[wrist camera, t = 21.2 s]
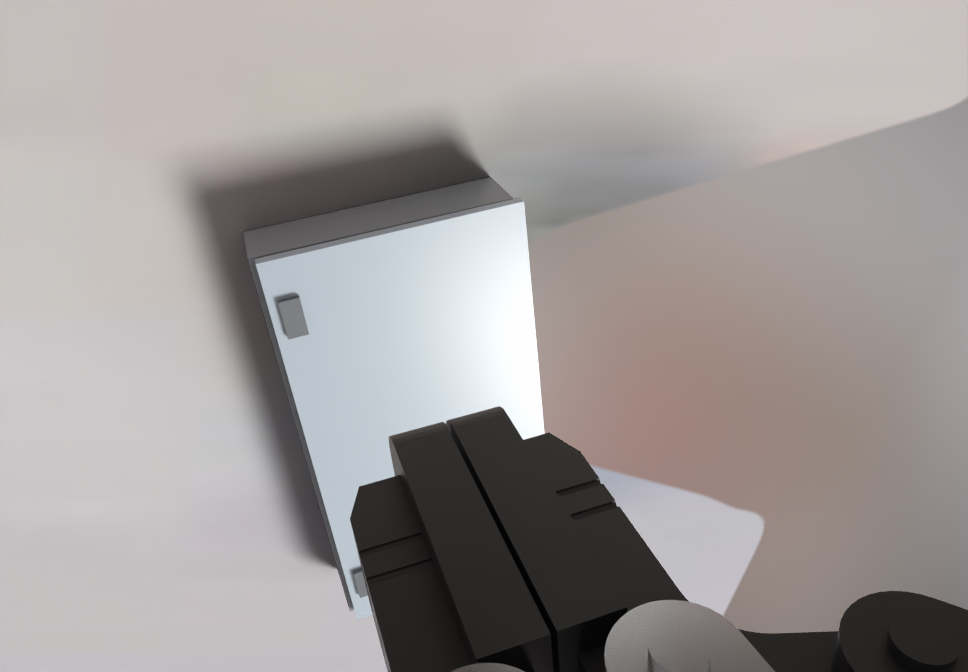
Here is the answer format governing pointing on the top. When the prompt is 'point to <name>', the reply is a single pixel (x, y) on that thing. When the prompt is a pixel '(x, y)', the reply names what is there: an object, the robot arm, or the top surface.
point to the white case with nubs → (347, 226)
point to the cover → (403, 344)
